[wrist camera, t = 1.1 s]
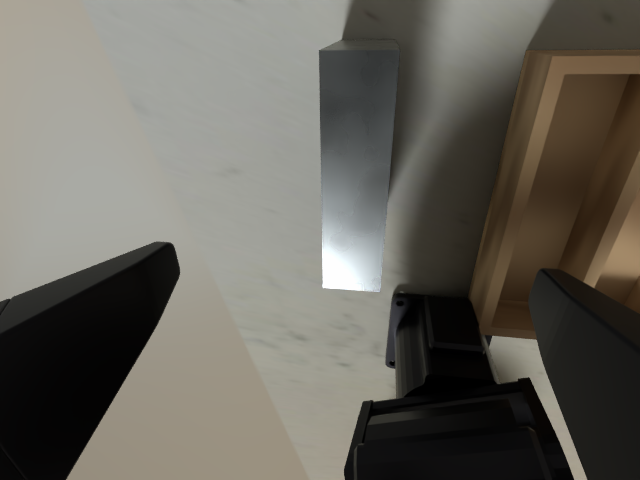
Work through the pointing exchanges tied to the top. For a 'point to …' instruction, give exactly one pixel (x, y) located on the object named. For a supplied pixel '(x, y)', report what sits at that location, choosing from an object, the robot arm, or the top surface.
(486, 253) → the tray
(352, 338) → the top surface
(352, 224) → the panel
